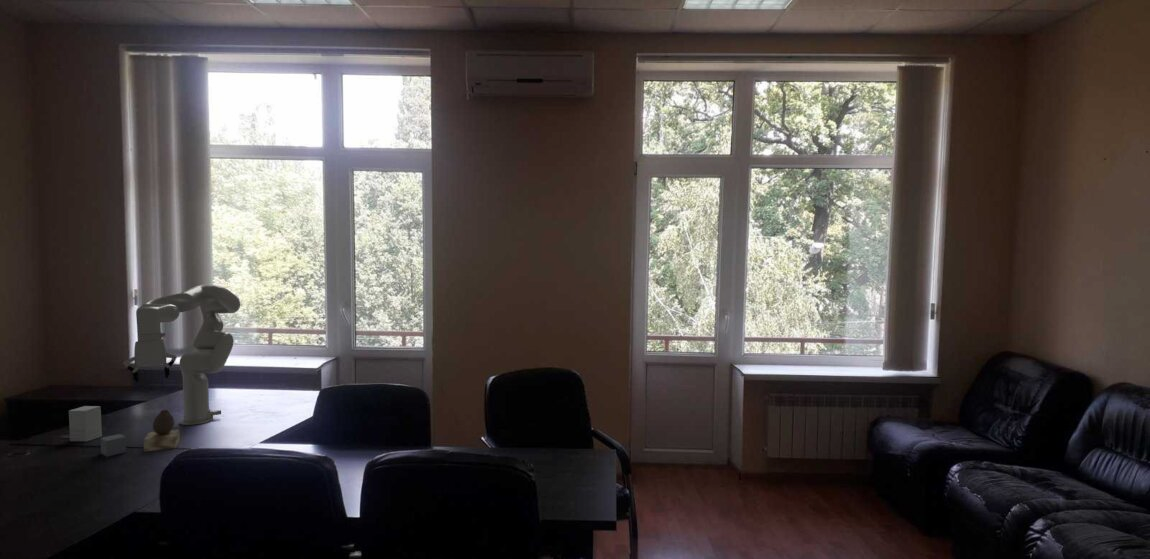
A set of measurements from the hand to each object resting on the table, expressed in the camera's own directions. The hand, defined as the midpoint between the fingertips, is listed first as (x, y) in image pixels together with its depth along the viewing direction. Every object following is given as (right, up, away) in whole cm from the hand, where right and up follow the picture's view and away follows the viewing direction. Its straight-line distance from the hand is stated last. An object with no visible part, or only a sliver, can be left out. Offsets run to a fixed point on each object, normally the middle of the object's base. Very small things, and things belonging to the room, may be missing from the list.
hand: (151, 379), depth 232 cm
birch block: (+8, -26, -5) cm, 27 cm away
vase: (+8, -20, -5) cm, 22 cm away
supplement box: (-29, -25, +3) cm, 38 cm away
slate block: (-5, -26, -13) cm, 29 cm away
